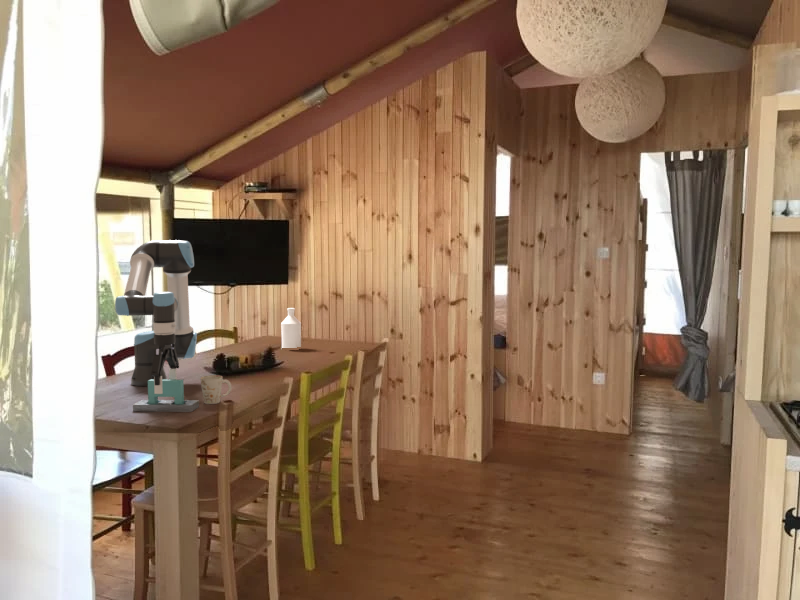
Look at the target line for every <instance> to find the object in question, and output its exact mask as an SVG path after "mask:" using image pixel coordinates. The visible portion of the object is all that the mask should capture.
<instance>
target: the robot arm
mask: <svg viewBox="0 0 800 600" xmlns="http://www.w3.org/2000/svg"><path fill="white" fill-rule="evenodd" d="M129 265H130V271H129V274H128V277H127V283H126V286H125V289H124V293H123V295H118V296H117V297H115V300H114V306H115V307H114V308H115V313H116V314H117V315H118V316H127V317H130V316H133V317H134V316H153V330H149V331H148V330H147V331H142V332H140V333H137V334H136V335H135V336H134V339H133V340H134V341H133V347H134V368H133V371H132V375H131V378H130V384H131V386H137V387H148V380H150V379H154V393H155V394H162V393H163V389H162V379H178V376H177V374H178V373H177V372H178V371H177V369H179V368H180V363H179V360H181V359H182V360H186V359H192V358H194V357H195V353H196V348H197V340H198V333H197V332H194V328H193V327H192V326H191V323H190V301H189V278H188V275H189V274H190V273H191V271H192V268H194V267H195V257H194V252H193V247H192V244H191V242H190V241H188V240H180V239H178V240H177V239H175V240H171V239H169V240H158V239H157V240H155V239H154V240H149V241H146V242H144V243H142V244H141V245H140V246H138V247H137V248H136V249H135V250H134V252H133V253H132V254H131V257H130V260H129ZM154 268H162V271H163V273H164V274H165V275H166V278H167V280H166V281H167V283H166V284H167V291H156V292H154V293H153V294H152V295H146V292H147V288H148V284H149V278H150V275H151V271H152V270H154ZM166 361H167V364H168V366H169V369H168V376H167V373H166V370H165V368H164V366H165V362H166Z"/></svg>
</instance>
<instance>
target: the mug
mask: <svg viewBox="0 0 800 600" xmlns="http://www.w3.org/2000/svg"><path fill="white" fill-rule="evenodd" d="M223 378H224V377H223V376H222V375H219V374H218V375H215V374H213V375H203V376H201V377H200V386H201V392H202V398H203V403H204V404H206V405H216V404H220V402H221V398H223V397H227V396H228V395H229V394H230V393H231V392H232V383H231V382H230V380H228V379H223ZM223 384H227V386H228V387H227V388H228V389H227V391H226V393H225V394H224V393H223V394H222V387H223Z"/></svg>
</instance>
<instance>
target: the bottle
mask: <svg viewBox="0 0 800 600" xmlns="http://www.w3.org/2000/svg"><path fill="white" fill-rule="evenodd" d="M295 310H296V308H295V307H288V308H286V311H287V316H286V317H285V318H284V319H283V321H281V323H280V330H281V331H280V332H281V333H280V334H281V335H280V337H281V349H282V348H297V347H301V348H302V322H301V321H300V320H299V319H298V318H297V317H296V316H295Z"/></svg>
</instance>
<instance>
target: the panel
mask: <svg viewBox="0 0 800 600" xmlns="http://www.w3.org/2000/svg"><path fill="white" fill-rule="evenodd" d="M184 387H185V386H184V379H178V378H177V379H169V378H167V379H162V389H163V393H162V394H155V393H154V379H150V380H148V386H147V400H148V404H157V403H158V400H159V398H174V399H173V400H175V404H184V400H185V394H184V391H185V390H184V389H185V388H184ZM158 397H159V398H158Z"/></svg>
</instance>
